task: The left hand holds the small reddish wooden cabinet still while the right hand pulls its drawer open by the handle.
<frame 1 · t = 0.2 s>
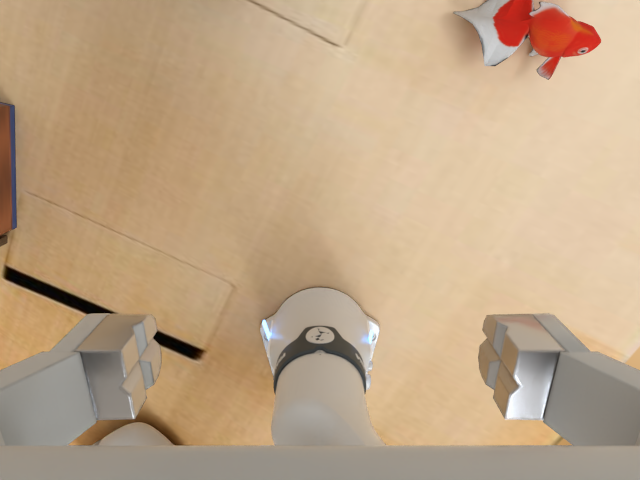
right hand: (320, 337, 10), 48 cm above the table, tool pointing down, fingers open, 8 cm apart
fish: (507, 32, 51), on the table
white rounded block: (156, 461, 76), on the table
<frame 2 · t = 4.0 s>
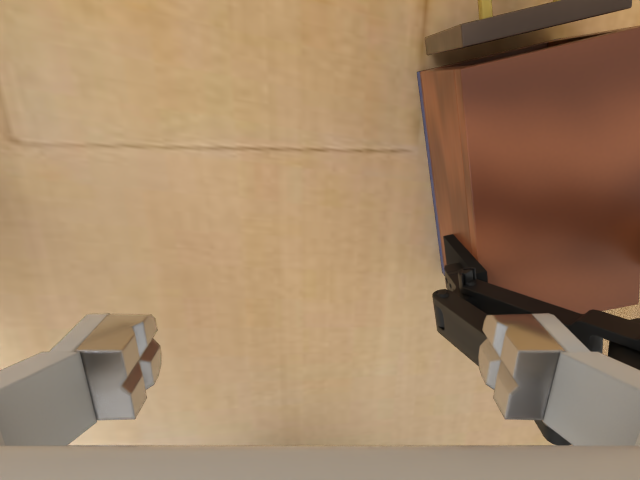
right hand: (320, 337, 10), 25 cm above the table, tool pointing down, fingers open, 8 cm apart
drawer: (517, 97, 28), point 5 cm above the table, slide at 1.0 cm
cabinet: (492, 167, 34), on the table, touching left hand
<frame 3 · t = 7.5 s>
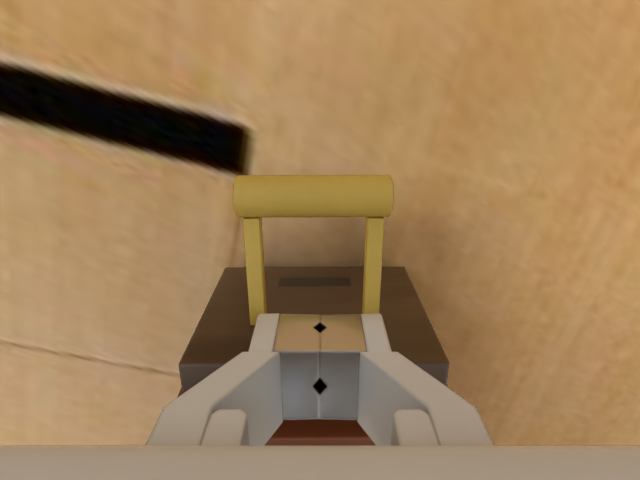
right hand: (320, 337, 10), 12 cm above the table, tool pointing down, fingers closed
drawer: (315, 399, 19), point 5 cm above the table, slide at 1.0 cm
cabinet: (316, 416, 26), on the table, touching left hand
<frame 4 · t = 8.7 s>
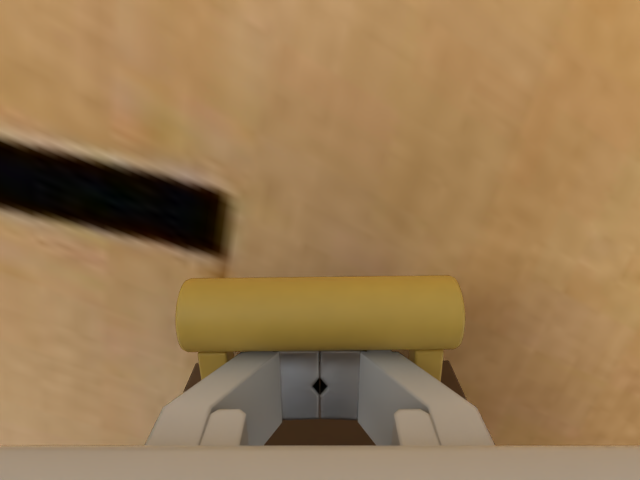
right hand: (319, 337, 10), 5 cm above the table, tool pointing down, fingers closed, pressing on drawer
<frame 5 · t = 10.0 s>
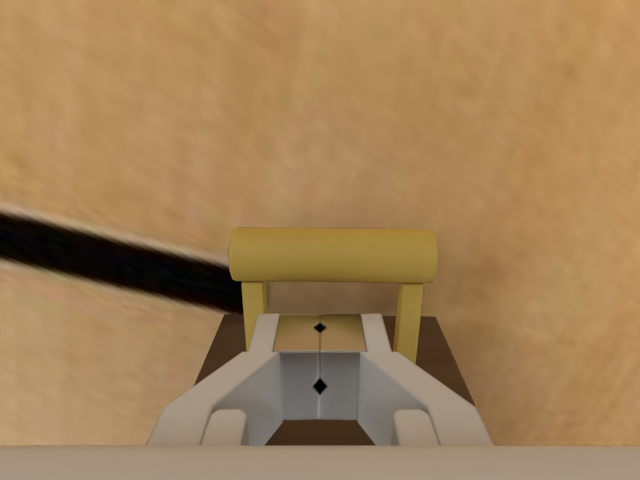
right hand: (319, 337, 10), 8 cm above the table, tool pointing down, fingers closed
drawer: (328, 478, 16), point 5 cm above the table, slide at 6.4 cm
when the left hand's fingers open (5 cm above the table, at t = 11.4 s): cabinet stays where it is, on the table.
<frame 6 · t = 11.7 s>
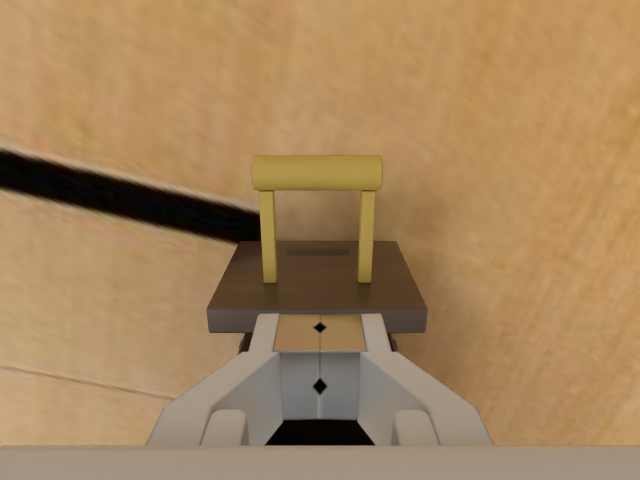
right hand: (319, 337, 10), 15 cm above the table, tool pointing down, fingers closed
drawer: (317, 352, 23), point 5 cm above the table, slide at 6.4 cm
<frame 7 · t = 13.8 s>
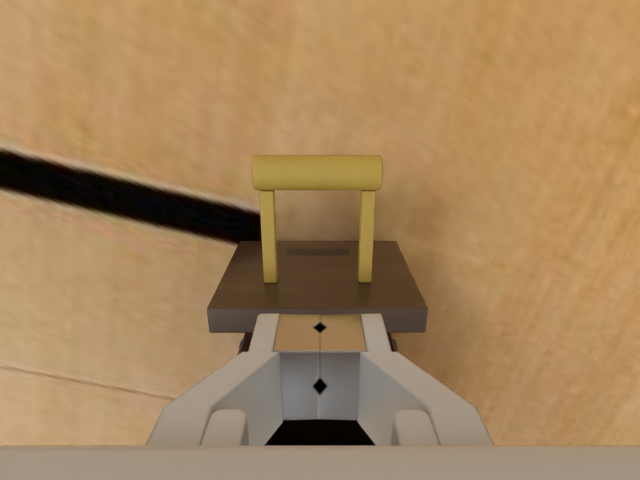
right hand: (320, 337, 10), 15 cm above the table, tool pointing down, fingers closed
drawer: (317, 352, 23), point 5 cm above the table, slide at 6.4 cm
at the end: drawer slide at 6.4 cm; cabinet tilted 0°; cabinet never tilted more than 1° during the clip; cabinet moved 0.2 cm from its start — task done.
